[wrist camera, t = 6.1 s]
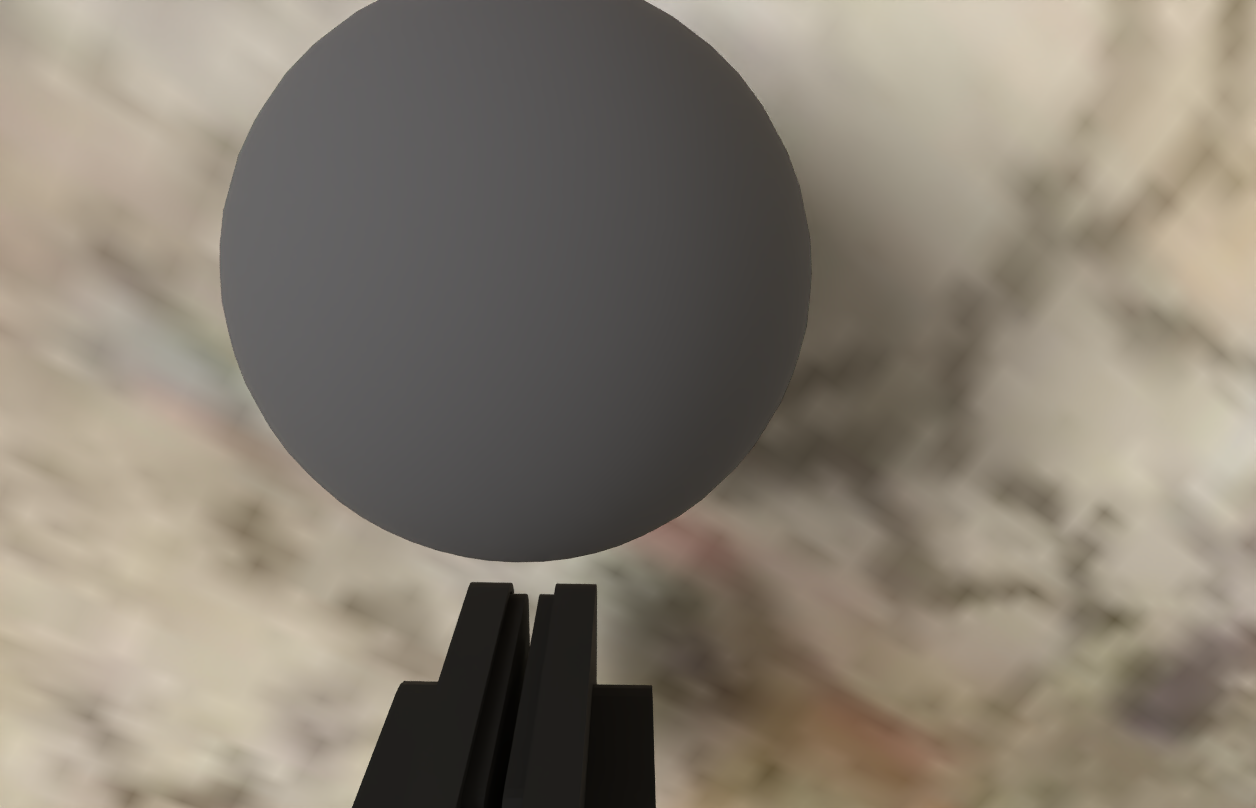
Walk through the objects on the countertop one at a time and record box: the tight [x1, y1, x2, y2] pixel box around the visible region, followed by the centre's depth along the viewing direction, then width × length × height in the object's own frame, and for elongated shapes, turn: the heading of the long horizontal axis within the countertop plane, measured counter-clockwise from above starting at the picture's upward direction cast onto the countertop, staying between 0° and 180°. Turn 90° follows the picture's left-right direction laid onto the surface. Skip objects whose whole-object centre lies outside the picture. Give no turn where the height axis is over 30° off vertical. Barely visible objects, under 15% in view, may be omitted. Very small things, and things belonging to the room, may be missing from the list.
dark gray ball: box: [220, 0, 812, 562], centre depth 9 cm, size 6×6×6 cm
